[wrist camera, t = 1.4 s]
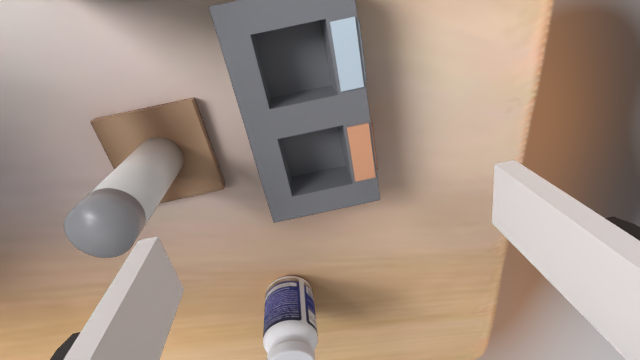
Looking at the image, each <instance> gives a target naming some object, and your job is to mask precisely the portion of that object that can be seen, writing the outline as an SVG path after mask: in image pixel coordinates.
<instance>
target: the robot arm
mask: <svg viewBox="0 0 640 360" xmlns="http://www.w3.org/2000/svg"><path fill="white" fill-rule="evenodd" d="M492 224H493V225H494V226H495V227H496V228H497V229H498V230H499V231H500V232H501V233H502V234H503V235H504V236H505V237H506V238H507V239H508V240H509V241H510V242H511V243H512V244H513V245H514V246H515V247H516V248H517V249H518V250H519V251H520V252H521V253H522V254H523V255H524V256H525V257H526V258H527V259H528V260H529V261H530V262H531V263H532V264H533V265H534V266H535V267H536V268H537V269H538V271H540V272H541V274H542V275H543V276H544V277H545V278H546V279H547V280H549V282H550V283H551V284H552V285H553V286H554V287H555V288H556V289H557V290H558V291H559V292H560V293H561V294H562V295H563V296H564V297H565V298H566V299H567V300H568V301H569V302H570V303H571V304H572V305H573V306H574V307H575V308H576V309H577V310H578V311H579V312H580V313H581V314H582V315H583V316H584V317H585V318H586V319H587V320H588V321H589V322H590V323H591V324H592V325H593V326H594V327H595V328H596V329H597V330H598V332H599V333H600V334H601V335H602V336H603V337H604V338H605V339H606V340H607V341H608V342H609V343H610V344H611V345H612V346H613V347H614V348H615V349H616V350H617V351H618V352H619V353H620V354H621V355H622V356H623V357H624V358H625V359H626V360H640V227H638V226H637V225H635V224H632V223H629V222H627V221H624V220H621V219H618V218H616V217H609V218H604V217H602V216H600V215H599V214H597V213H596V212H594V211H593V210H591V209H590V208H588V207H586V206H585V205H583V204H582V203H580V202H579V201H577V200H576V199H574V198H573V197H571V196H569V195H568V194H566V193H565V192H563V191H562V190H560V189H559V188H557V187H555V186H554V185H552V184H551V183H549V182H548V181H546V180H545V179H543V178H541V177H540V176H538V175H537V174H535V173H534V172H532V171H530V170H529V169H528V168H526V167H525V166H523V165H521V164H520V163H518V162H517V161H515V160H511V161H507V162H502V163H497V164H495V168H494V189H493V210H492ZM183 291H184V288H183V286H182V284H181V282H180V280H179V278H178V276H177V273H176V271H175V269H174V267H173V265H172V263H171V261H170V259H169V257H168V255H167V253H166V251H165V249H164V247H163V245H162V243H161V241H160V239H159V237H158V236H157V237H152V238H147V239H143V240H138V242H137V243H136V245H135V246H134V248H133V250H132V251H131V253H130V254H129V256H128V258H127V259H126V261H125V262H124V264H123V266H122V267H121V269H120V270H119V272H118V274H117V275H116V277H115V278H114V280H113V282H112V283H111V285H110V286H109V288H108V289H107V291H106V293H105V294H104V296H103V297H102V299H101V301H100V302H99V304H98V305H97V307H96V309H95V310H94V312H93V313H92V315H91V317H90V318H89V320H88V321H87V323H86V325H85V326H84V328H83V329H82V331H81V332H79V333H74V334H72V335H71V336H70V337H69V338H68V339H67V340H66V341H65V342H64V343H63V344H62V345H61V346H60V347H59V348H58V349H57V350H56V352H55V353H54V355H53V356H52V358H51V359H50V360H159V359H160V357H161V354H162V351H163V348H164V345H165V342H166V340H167V337H168V334H169V331H170V328H171V325H172V323H173V320H174V317H175V314H176V311H177V308H178V306H179V303H180V300H181V297H182V294H183Z"/></svg>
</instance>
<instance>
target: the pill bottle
mask: <svg viewBox="0 0 640 360" xmlns="http://www.w3.org/2000/svg"><path fill="white" fill-rule="evenodd" d="M317 342H318V334H317V325H316V316H315V307H314V298H313V291H312V288H311V286H310V284H309V283H308V282H307V281H306V280H304V279H302V278H300V277H297V276H284V277H281V278H278V279H276V280H275V281H273V282H272V283H271V284H270V285H269V287H268V288H267V291H266V296H265V315H264V333H263V345H264V348H265V351H266V352H267V354H268V355H267V360H315V354H314V350H315V348H316V346H317Z"/></svg>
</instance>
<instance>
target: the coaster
mask: <svg viewBox="0 0 640 360" xmlns="http://www.w3.org/2000/svg"><path fill="white" fill-rule="evenodd" d="M91 124H92V126H93V128H94V130H95V132H96V134H97V136H98V138H99V140H100V142H101V144H102V146H103V148H104V150H105V152H106V154H107V156H108V158H109V160H110V162H111V164H112V165H113V167H114V169H116V168H117V167H118V166H119V165H120V164H121V163H122V162H123V161H124V160H125V159H126V158H127V157H128V156H129V155H130V154H131V153H133V152H134V151H135V150H136V149H137V148H138V147H139V146H140V145H141V144H142V143H143V142H144V141H146V140H147V139H150V138H153V137H162V138H166V139H168V140H171V141H172V142H174V143H175V144H176V145H177V146H178V147H179V148H180V150H181V151H182V154H183V158H184V163H183V166H182V168H181V170H180V171H179V173H178V175H177V176H176V178H175V179H174V181H173V182H172V184H171V186H170V187H169V189H168V190H167V192H166V193H165V195H164V196H163V198H162V200H161V201H160V203H162V202H167V201H171V200H176V199H181V198H185V197H190V196H195V195H199V194H204V193H209V192H213V191H218V190H223V189H224V187H225V183H224V180H223V177H222V174H221V171H220V169H219V166H218V163H217V160H216V157H215V154H214V152H213V149H212V146H211V143H210V140H209V138H208V135H207V132H206V129H205V126H204V124H203V121H202V118H201V115H200V112H199V110H198V107H197V104H196V101H195V98H190V99H185V100H180V101H176V102H171V103H166V104H161V105H157V106H152V107H147V108H143V109H138V110H133V111H129V112H124V113H119V114H115V115H110V116H105V117H100V118H96V119H94V120H92V121H91Z"/></svg>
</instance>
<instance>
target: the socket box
mask: <svg viewBox="0 0 640 360" xmlns="http://www.w3.org/2000/svg"><path fill="white" fill-rule="evenodd" d="M209 10H210V13H211V16H212V19H213V23H214V26H215V29H216V33H217V36H218V39H219V43H220V46H221V49H222V53H223V56H224V59H225V63H226V66H227V69H228V73H229V76H230V79H231V83H232V86H233V89H234V93H235V96H236V99H237V103H238V106H239V109H240V113H241V116H242V119H243V123H244V126H245V129H246V132H247V136H248V139H249V142H250V146H251V149H252V152H253V156H254V159H255V162H256V166H257V169H258V172H259V176H260V179H261V182H262V186H263V189H264V192H265V196H266V199H267V202H268V206H269V209H270V212H271V216H272V219H273V222H274V223H275V222H280V221H284V220H289V219H294V218H298V217H303V216H308V215H312V214H317V213H322V212H326V211H331V210H336V209H340V208H345V207H350V206H354V205H359V204H364V203H368V202H373V201H378V200H380V193H379V185H378V177H377V170H378V168H377V160H376V152H375V144H374V136H373V128H372V123H371V122H370V114H369V106H368V98H367V90H366V82H365V80H366V72H365V63H364V55H363V47H362V39H361V31H360V23H359V20H358V19H357V11H356V3H355V0H238V1H233V2H228V3H224V4H219V5H214V6H210V7H209Z"/></svg>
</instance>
